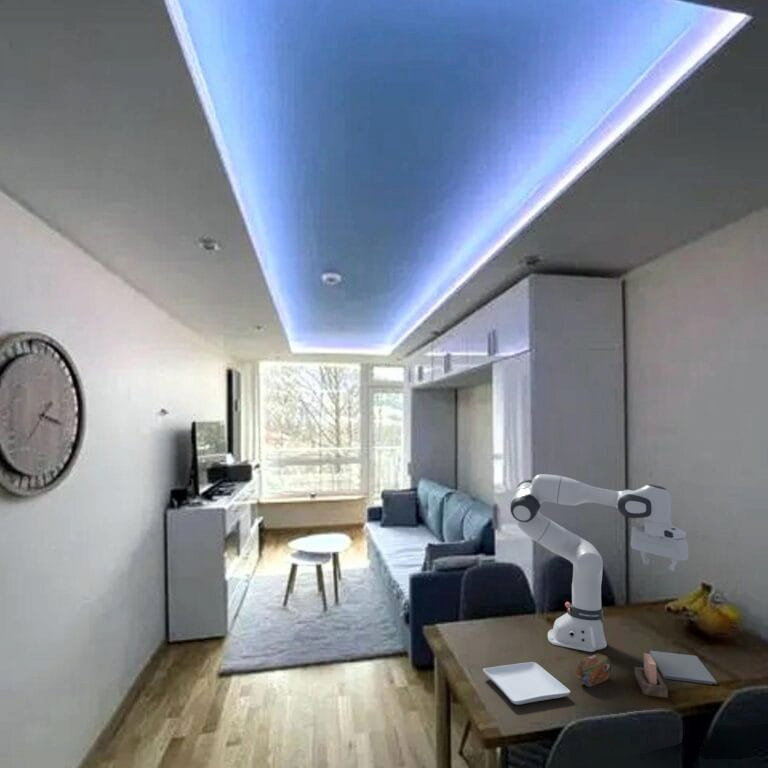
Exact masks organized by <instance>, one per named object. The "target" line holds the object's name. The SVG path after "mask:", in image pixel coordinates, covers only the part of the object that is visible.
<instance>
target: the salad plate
mask: <svg viewBox="0 0 768 768" xmlns="http://www.w3.org/2000/svg"><path fill="white" fill-rule="evenodd" d="M482 671H483V673H484V674H485V675H486V676H487V677H488V678H489V680H491V682H492V683H493V684H495V685H496V686H497V687H498V689H499V690H500V691H501V692H502V693H503V694H504V695H505V696H506V697H507V698H508V699H509V701H510V702H511V703H512V704H514V705H519V706H520V705H524V704H529V703H536V702H540V701H541V702H543V701H547V700H552V699H559V698H564V697H567V696H569V695H570V693H571V690H570V689H569V688H568V687H566V685H564V684H563V683H562V682H561V681H559V680H557V678H555V676H553V675H552V674H550V673H549V672H548V671H547V670H545V668H543V667H542V666H541V665H539V664H538V663H537V662H533V661H531V662H522V663H513V664H505V665H497V666H492V667H485V668H482Z"/></svg>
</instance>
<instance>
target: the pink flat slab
mask: <svg viewBox="0 0 768 768" xmlns="http://www.w3.org/2000/svg"><path fill="white" fill-rule="evenodd" d="M643 668H644V678H645V680H646V682H647V684H655V685H657V675H656V669H657V665H656V663H655V661H654V660H653V658H652V656H651V654H650V653H645V652H643Z"/></svg>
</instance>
